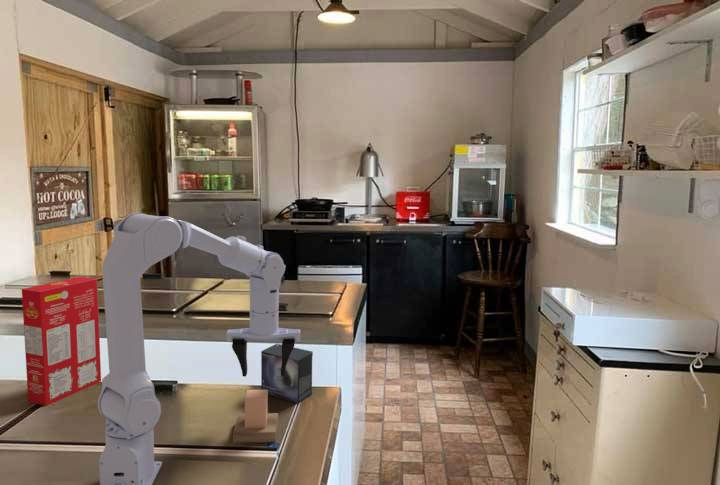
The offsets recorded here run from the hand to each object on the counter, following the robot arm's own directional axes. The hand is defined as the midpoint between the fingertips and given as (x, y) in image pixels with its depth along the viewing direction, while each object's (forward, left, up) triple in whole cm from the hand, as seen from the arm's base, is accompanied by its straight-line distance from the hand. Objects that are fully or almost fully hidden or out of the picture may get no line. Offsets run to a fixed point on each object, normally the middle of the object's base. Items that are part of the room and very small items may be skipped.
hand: (263, 374), depth 109 cm
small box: (+13, -4, -10) cm, 17 cm away
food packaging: (+16, +46, -10) cm, 50 cm away
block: (-5, +1, -8) cm, 10 cm away
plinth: (-5, +1, -10) cm, 11 cm away
